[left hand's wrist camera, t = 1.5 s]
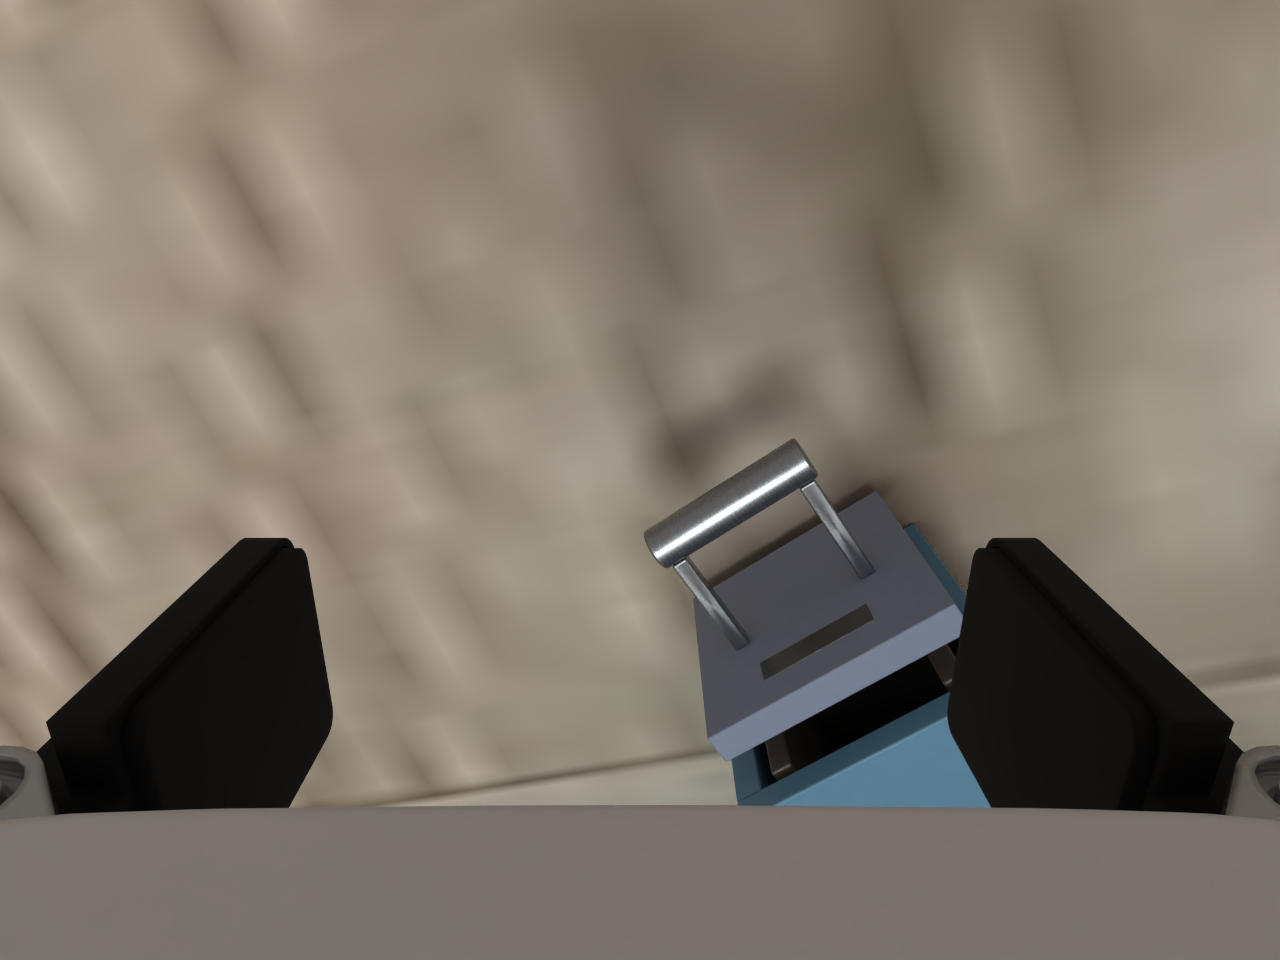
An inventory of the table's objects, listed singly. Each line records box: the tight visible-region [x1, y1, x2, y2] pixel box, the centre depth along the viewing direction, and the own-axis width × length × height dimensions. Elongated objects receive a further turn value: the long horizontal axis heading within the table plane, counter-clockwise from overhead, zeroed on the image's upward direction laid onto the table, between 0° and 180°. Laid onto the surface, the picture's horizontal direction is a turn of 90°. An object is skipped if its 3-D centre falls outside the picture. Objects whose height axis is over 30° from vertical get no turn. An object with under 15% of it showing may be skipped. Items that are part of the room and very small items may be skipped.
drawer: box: [644, 439, 963, 781], centre depth 32 cm, size 24×9×9 cm, turn 35°
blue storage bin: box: [732, 524, 991, 808], centre depth 34 cm, size 19×10×11 cm, turn 35°
